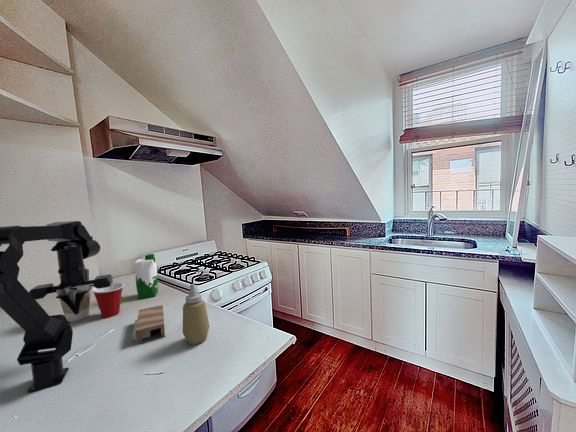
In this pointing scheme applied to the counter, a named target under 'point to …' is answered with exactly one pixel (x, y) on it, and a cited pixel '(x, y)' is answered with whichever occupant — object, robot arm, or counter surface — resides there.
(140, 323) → the bench
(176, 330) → the counter surface
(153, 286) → the milk carton
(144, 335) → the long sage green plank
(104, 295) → the plastic cup
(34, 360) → the robot arm
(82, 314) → the coffee cup
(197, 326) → the squeeze bottle
